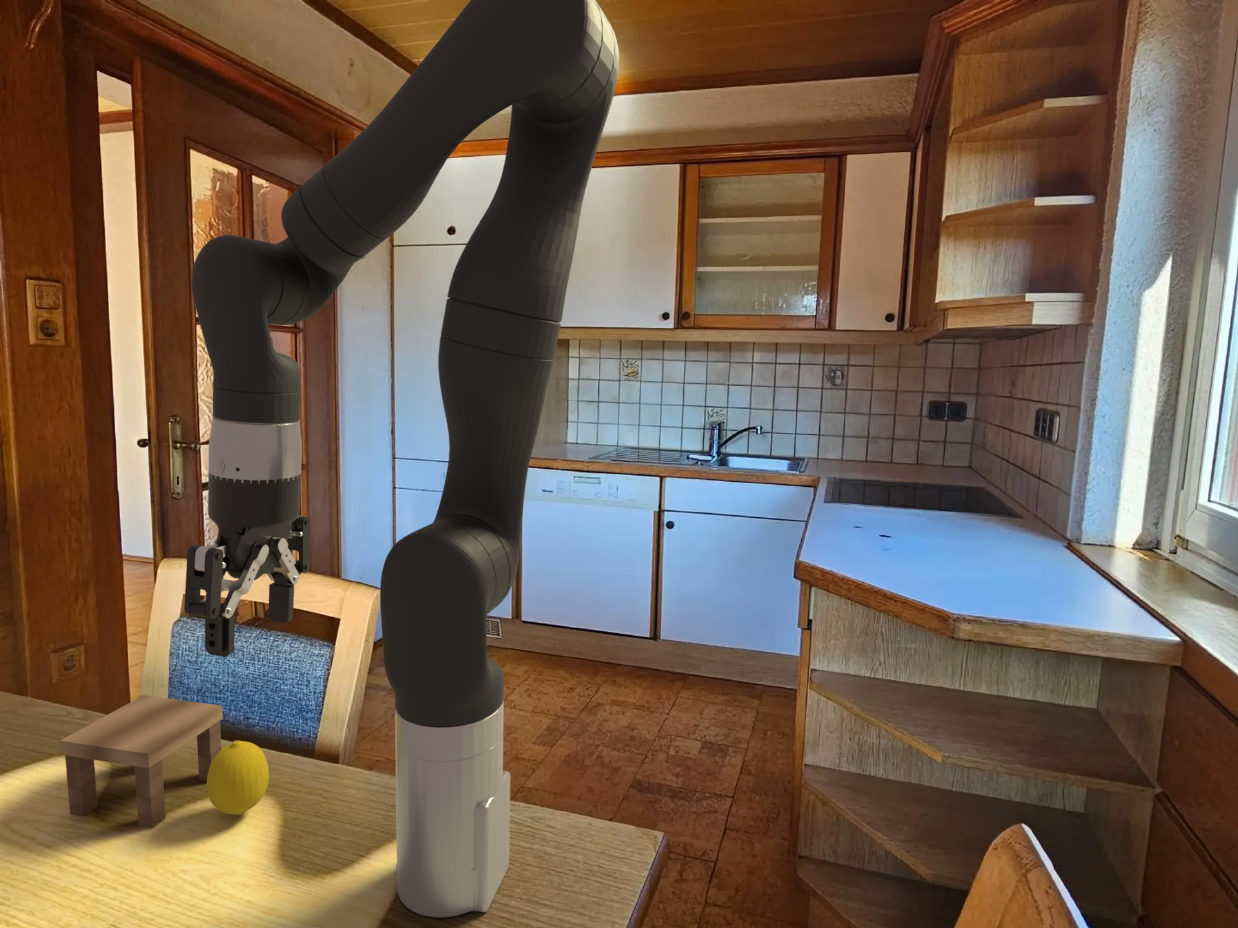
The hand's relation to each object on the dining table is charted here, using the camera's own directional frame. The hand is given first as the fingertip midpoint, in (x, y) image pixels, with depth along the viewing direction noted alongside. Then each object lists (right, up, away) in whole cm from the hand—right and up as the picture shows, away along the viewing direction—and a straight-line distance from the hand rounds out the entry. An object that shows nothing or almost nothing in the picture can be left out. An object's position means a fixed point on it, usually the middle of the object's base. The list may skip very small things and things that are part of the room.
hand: (252, 636), depth 68 cm
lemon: (-4, -20, +5) cm, 21 cm away
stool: (-15, -19, +8) cm, 26 cm away
